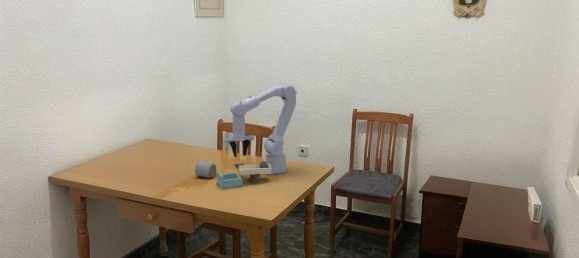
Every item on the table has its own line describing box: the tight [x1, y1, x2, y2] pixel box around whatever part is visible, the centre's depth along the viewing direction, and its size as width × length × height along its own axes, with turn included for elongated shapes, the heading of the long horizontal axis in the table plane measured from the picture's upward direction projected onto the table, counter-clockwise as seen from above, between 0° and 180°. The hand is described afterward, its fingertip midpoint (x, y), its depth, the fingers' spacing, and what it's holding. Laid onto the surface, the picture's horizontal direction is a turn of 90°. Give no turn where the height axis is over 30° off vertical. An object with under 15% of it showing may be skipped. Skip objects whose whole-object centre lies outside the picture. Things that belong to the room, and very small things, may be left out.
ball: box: [258, 160, 268, 168], centre depth 233 cm, size 4×4×4 cm
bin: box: [215, 170, 244, 190], centre depth 227 cm, size 10×9×6 cm
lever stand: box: [245, 174, 265, 185], centre depth 233 cm, size 6×8×4 cm
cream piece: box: [234, 163, 272, 176], centre depth 235 cm, size 14×14×4 cm
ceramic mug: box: [194, 160, 217, 179], centre depth 239 cm, size 11×8×8 cm
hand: (239, 156), depth 236 cm, fingers open, 4 cm apart
